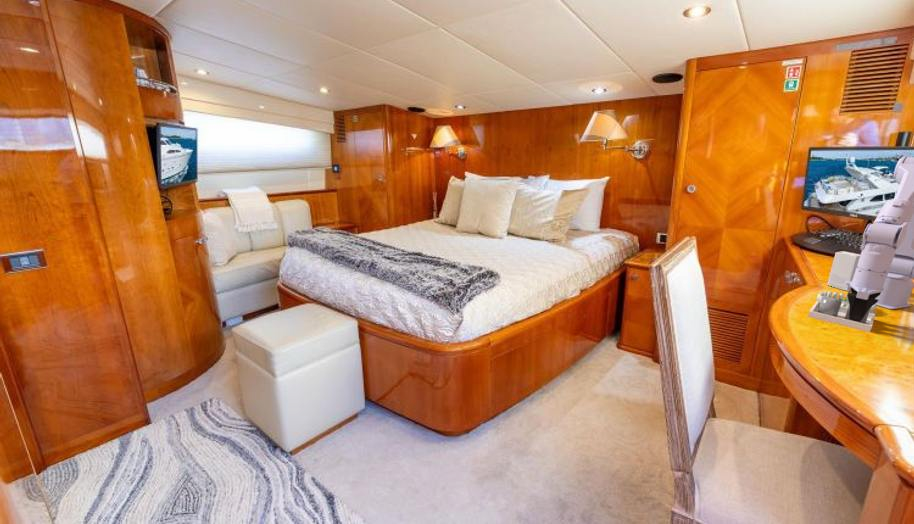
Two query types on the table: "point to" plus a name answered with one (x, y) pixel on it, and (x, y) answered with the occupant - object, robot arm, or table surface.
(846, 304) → the celadon bowl
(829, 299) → the pebble slate
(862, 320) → the pebble charcoal
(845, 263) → the skincare box
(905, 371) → the table surface
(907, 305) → the robot arm
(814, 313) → the parts tray
